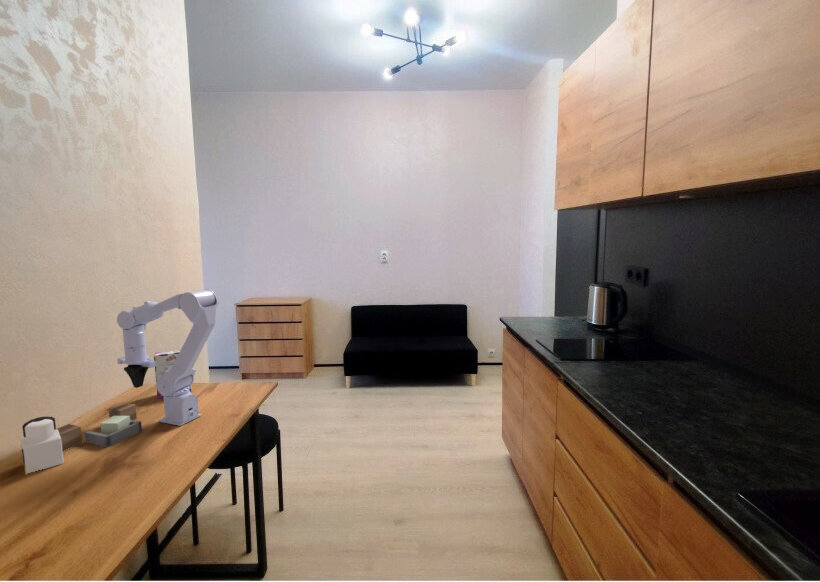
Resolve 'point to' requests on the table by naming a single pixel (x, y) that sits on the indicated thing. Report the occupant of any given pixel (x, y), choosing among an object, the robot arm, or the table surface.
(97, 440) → the corral
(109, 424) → the sage block
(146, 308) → the robot arm
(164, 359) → the candy bar box
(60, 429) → the walnut block
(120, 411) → the walnut block
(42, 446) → the white handled block
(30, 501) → the table surface
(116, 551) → the table surface
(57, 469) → the table surface
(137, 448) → the table surface
